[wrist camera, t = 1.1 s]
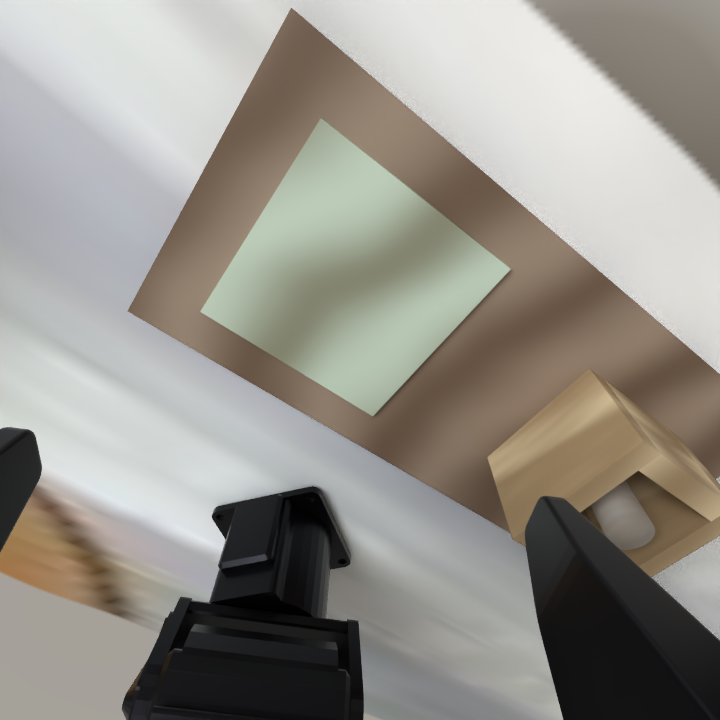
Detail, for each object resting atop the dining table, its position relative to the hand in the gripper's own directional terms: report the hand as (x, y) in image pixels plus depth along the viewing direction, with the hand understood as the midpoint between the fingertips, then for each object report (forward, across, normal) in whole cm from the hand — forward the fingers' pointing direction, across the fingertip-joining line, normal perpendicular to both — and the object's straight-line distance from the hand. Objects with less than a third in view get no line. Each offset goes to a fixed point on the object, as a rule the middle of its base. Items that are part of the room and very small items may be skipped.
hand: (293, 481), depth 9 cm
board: (+14, -7, +4) cm, 16 cm away
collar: (+12, -13, +8) cm, 20 cm away
